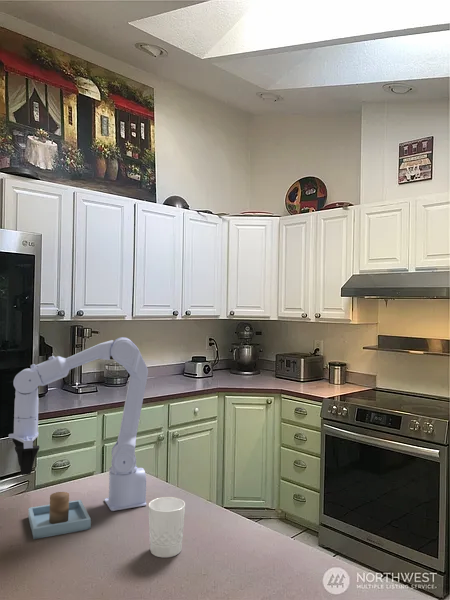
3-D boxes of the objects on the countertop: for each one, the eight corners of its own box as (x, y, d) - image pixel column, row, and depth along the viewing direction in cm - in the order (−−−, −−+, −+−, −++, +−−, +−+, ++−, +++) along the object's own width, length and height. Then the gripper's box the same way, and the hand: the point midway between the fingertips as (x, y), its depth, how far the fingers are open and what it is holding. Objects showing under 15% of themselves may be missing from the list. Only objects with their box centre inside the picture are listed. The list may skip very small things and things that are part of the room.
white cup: (189, 545, 108) (190, 500, 108) (174, 562, 101) (175, 513, 101) (157, 538, 111) (158, 494, 111) (140, 555, 103) (142, 508, 104)
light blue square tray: (80, 508, 126) (80, 499, 126) (90, 528, 115) (90, 519, 115) (28, 517, 121) (28, 507, 121) (33, 539, 109) (33, 528, 109)
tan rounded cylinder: (67, 515, 121) (68, 490, 121) (69, 522, 117) (70, 497, 117) (48, 518, 119) (49, 493, 119) (49, 525, 115) (50, 499, 115)
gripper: (7, 411, 129) (6, 463, 129) (11, 423, 116) (9, 480, 116) (35, 409, 133) (34, 459, 132) (42, 421, 120) (40, 476, 120)
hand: (24, 469), depth 125 cm, fingers open, 7 cm apart
